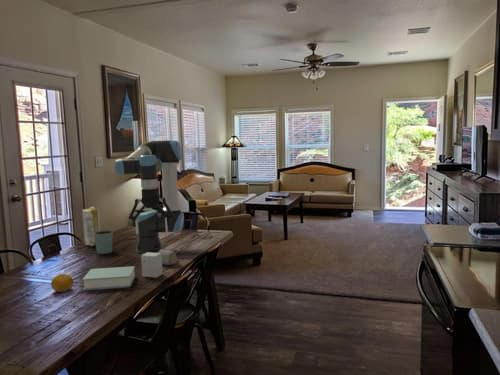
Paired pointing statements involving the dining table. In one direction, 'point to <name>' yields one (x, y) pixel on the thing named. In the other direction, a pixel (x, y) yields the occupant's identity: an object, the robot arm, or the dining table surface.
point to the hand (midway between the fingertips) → (152, 232)
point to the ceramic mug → (168, 257)
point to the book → (109, 278)
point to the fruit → (62, 282)
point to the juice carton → (90, 225)
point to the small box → (151, 264)
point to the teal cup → (103, 241)
